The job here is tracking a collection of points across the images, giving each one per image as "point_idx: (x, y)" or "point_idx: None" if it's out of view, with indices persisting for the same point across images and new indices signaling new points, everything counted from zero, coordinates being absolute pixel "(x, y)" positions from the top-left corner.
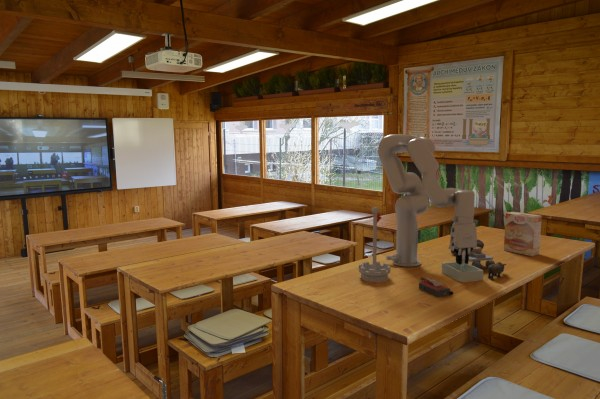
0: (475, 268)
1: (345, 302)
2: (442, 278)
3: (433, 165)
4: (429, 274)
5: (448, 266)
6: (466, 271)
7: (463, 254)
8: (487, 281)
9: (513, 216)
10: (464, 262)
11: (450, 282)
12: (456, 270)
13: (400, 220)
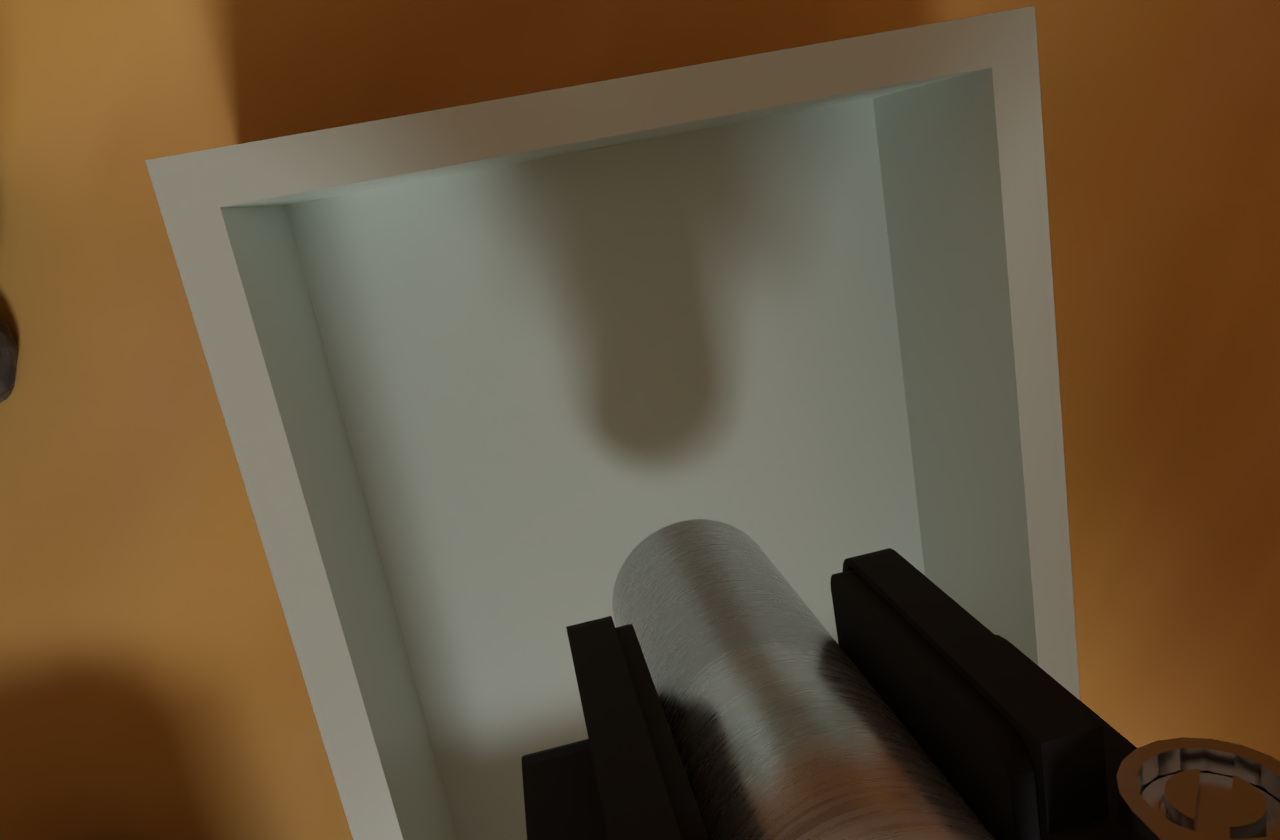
0: (318, 509)
1: None
2: (1142, 392)
3: None
4: (1255, 668)
5: (1076, 677)
6: (817, 93)
7: (928, 832)
8: (147, 41)
9: None
10: (724, 631)
11: (1115, 84)
12: (1048, 275)
13: None
